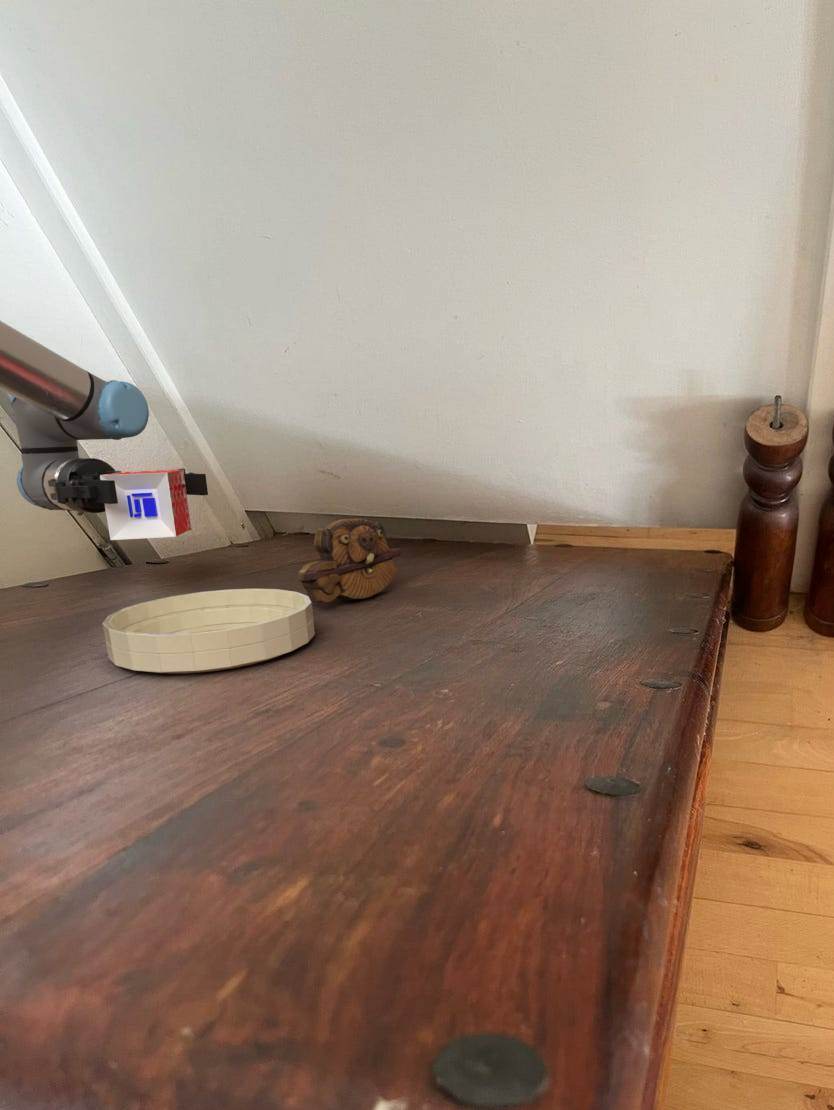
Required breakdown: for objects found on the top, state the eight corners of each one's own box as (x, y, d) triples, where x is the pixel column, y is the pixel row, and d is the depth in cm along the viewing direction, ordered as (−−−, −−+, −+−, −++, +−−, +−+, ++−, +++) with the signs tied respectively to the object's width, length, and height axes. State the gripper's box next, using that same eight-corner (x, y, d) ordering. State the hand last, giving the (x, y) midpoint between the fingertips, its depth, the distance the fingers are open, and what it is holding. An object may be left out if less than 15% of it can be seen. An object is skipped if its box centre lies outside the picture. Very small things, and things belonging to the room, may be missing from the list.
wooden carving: (328, 616, 88) (320, 528, 85) (298, 613, 90) (289, 527, 87) (411, 588, 101) (406, 511, 99) (383, 585, 104) (377, 511, 101)
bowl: (71, 682, 68) (62, 638, 67) (160, 627, 86) (154, 592, 85) (288, 674, 67) (283, 630, 66) (330, 620, 86) (327, 585, 85)
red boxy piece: (191, 529, 104) (183, 469, 102) (176, 536, 96) (167, 472, 94) (129, 532, 103) (120, 472, 101) (109, 540, 95) (98, 475, 93)
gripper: (166, 504, 119) (246, 509, 105) (-3, 521, 102) (67, 529, 88) (158, 454, 117) (240, 452, 103) (-14, 462, 100) (55, 462, 86)
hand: (160, 488), depth 96 cm, fingers closed on red boxy piece, 11 cm apart
